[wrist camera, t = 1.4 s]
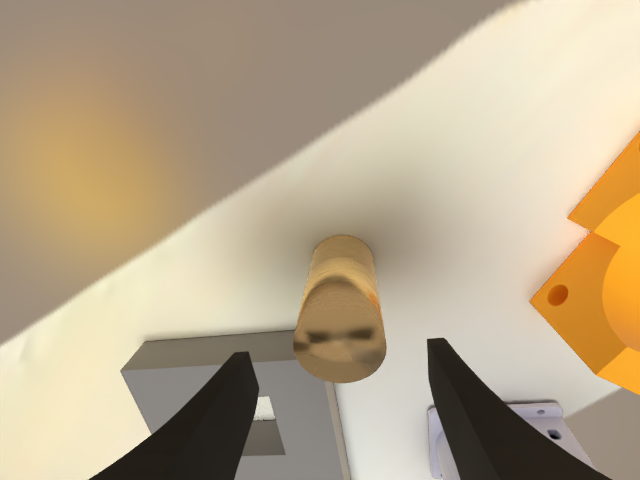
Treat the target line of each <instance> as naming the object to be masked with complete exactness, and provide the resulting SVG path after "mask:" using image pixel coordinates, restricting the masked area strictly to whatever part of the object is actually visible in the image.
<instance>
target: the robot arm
mask: <svg viewBox="0 0 640 480" xmlns="http://www.w3.org/2000/svg"><path fill="white" fill-rule="evenodd" d="M427 348H428V375H429V383H430V387H431V391H432V396H433V400H434V404H435V408H431V409H430V410H429V411H428V422H429V446H430V471H431V475H432V477H433V478H436V479H443V480H612V479H610V478H608V477H606V476H605V475H603V474H601V473H600V472H598V471H597V469H596V467H595V466H594V464H593V463H592V462H591V460H590V459H589V457H588V456H587V454H586V453H585V451H584V450H583V448H582V447H581V445H580V444H579V442H578V441H577V439H576V438H575V437H574V435H573V433H572V432H571V430H570V429H569V427H568V426H567V424H566V423H565V421H564V420H563V418H562V408H561V406H560V405H559V404H558V403H532V404H508V405H506V404H505V403H504V402H503V401H502V400H501V399H500V398H499V397H498V396H497V395H496V394H495V393H494V392H493V391H491V390H490V389H489V388H488V387H487V386H486V385H485V384H484V383H483V382H482V381H481V379H480V378H479V377H478V376H477V375H476V374H475V373H474V372H473V371H472V370H471V369H470V368H469V367H468V366H467V364H466V363H465V362H464V361H463V360H462V359H461V358H460V356H459V355H458V354H457V353H456V352H455V350H454V349H453V348H452V347H451V345H450V344H449V343H448V341H447V340H446V339H444V338H433V339H427ZM258 394H259V385H258V381H257V378H256V375H255V371H254V368H253V365H252V361H251V358H250V355H249V351H245V352H234V353H233V354H232V355H231V357H230V358H229V359H228V360H227V361H226V362H225V363H224V364H223V365H222V366H221V368H220V369H219V370H218V371H217V372H216V373H215V374H214V375H213V376H212V377H211V379H210V380H209V381H208V382H207V383H206V384H205V385H204V386H203V387H202V388H201V389H200V390H199V391H198V392H197V393H196V394H195V395H194V396H193V397H192V398H191V399H190V400H189V401H188V402H187V403H186V404H185V405H184V406H183V407H182V408H181V409H180V410H179V411H178V412H177V413H176V414H175V415H174V416H173V417H172V418H171V419H170V420H168V421H167V422H166V423H165V424H164V425H163V426H161V427H160V428H159V429H158V430H157V431H156V432H154V433H153V434H152V435H151V436H149V437H148V438H147V439H146V440H144V441H143V442H142V443H140V444H139V445H138V446H136V447H135V448H134V449H133V450H131V451H130V452H129V453H127V454H126V455H125V456H123V457H122V458H120V459H119V460H117V461H116V462H115V463H113V464H112V465H110V466H109V467H107V468H106V469H104V470H103V471H101V472H100V473H98V474H97V475H95V476H93V477H92V478H90V479H89V480H234V479H235V475H236V472H237V468H238V465H239V462H240V459H241V456H242V453H243V450H244V446H245V443H246V440H247V437H248V434H249V431H250V427H251V424H252V421H253V418H254V414H255V410H256V405H257V400H258Z"/></svg>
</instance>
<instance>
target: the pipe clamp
mask: <svg viewBox="0 0 640 480" xmlns="http://www.w3.org/2000/svg"><path fill="white" fill-rule="evenodd" d="M568 219H569V220H571V221H573V222H575V223H577V224H579V225H581V226H583V227H584V228H586V229H588V230H590V231H591V232H590V233H589V234H588V236H587V237H586V238H585V239H584V240H583V241H582V242H581V243H580V245H579V246H578V247H577V248H576V249H575V250H574V251H573V253H572V254H571V255H570V256H569V257H568V258H567V259H566V260H565V262H564V263H563V264H562V265H561V266H560V267H559V268H558V269H557V271H556V272H555V273H554V274H553V275H552V276H551V277H550V278H549V280H548V281H547V282H546V283H545V284H544V285H543V286H542V288H541V289H540V290H539V291H538V292H537V293H536V294H535V295H534V297H533V298H532V299H531V300H530V301H529V302H530V303H531V304H532V305H533V306H534V307H535V308H536V309H537V311H538V312H539V313H540V314H541V315H542V316H543V317H544V318H545V319H546V321H547V322H548V323H549V324H550V325H551V326H552V327H553V328H554V329H555V330H556V332H557V333H558V334H559V335H560V336H561V337H562V338H563V339H564V340H565V342H566V343H567V344H568V345H569V346H570V347H571V348H572V349H573V350H574V351H575V353H576V354H577V355H578V356H579V357H580V358H581V359H582V360H583V361H584V363H585V364H586V365H587V366H588V367H589V368H590V369H591V370H592V371H593V372H594V374H595V375H597V376H599V377H601V378H603V379H606V380H608V381H610V382H612V383H614V384H616V385H619V386H621V387H623V388H625V389H628V390H630V391H632V392H634V393H636V394H638V395H640V131H639V133H638V134H637V135H636V136H635V137H634V139H633V140H632V141H631V142H630V143H629V145H628V146H627V147H626V148H625V149H624V151H623V152H622V153H621V154H620V155H619V157H618V158H617V159H616V160H615V161H614V163H613V164H612V165H611V166H610V167H609V169H608V170H607V171H606V172H605V173H604V175H603V176H602V177H601V178H600V179H599V180H598V182H597V183H596V184H595V185H594V186H593V188H592V189H591V190H590V191H589V192H588V194H587V195H586V196H585V197H584V198H583V200H582V201H581V202H580V203H579V204H578V206H577V207H576V208H575V209H574V210H573V212H572V213H571V214H570V215H569V216H568Z"/></svg>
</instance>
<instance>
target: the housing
mask: <svg viewBox="0 0 640 480" xmlns="http://www.w3.org/2000/svg"><path fill="white" fill-rule="evenodd" d="M294 334H295V330H294V331H281V332H268V333H254V334H241V335H228V336H215V337H201V338H188V339H175V340H162V341H148V342H144V343H143V345H142V346H141V347H140V348H139V349H138V351H137V352H136V353H135V354H134V355H133V356H132V358H131V359H130V360H129V361H128V362H127V364H126V365H125V366H124V367H123V368H122V369H121V371H120V372H121V374H122V376H123V378H124V380H125V382H126V384H127V386H128V388H129V390H130V392H131V394H132V396H133V398H134V400H135V402H136V404H137V406H138V408H139V410H140V412H141V414H142V416H143V418H144V420H145V422H146V424H147V426H148V428H149V430H150V432H151V434H153V433H154V432H156V431H157V430H158V429H159V428H160V427H161V426H163V425H164V424H165V423H166V422H167V421H168V420H170V419H171V418H172V417H173V416H174V415H175V414H176V413H177V412H178V411H179V410H180V409H181V408H182V407H183V406H184V405H185V404H186V403H187V402H188V401H189V400H190V399H191V398H192V397H193V396H194V395H195V394H196V393H197V392H198V391H199V390H200V389H201V388H202V387H203V386H204V385H205V384H206V383H207V382H208V381H209V380H210V379H211V377H212V376H213V375H214V374H215V373H216V372H217V371H218V370H219V369H220V368H221V366H222V365H223V364H224V363H225V362H226V361H227V360H228V359H229V358H230V357H231V355H232V354H233V353H234V352H245V351H249V355H250V358H251V361H252V365H253V368H254V371H255V375H256V378H257V381H258V385H259V394H258V397H265V396H269V397H270V401H271V404H272V408H273V411H274V415H275V418H276V420H268V421H252V424H251V427H250V431H249V434H248V437H247V440H246V443H245V446H244V450H243V453H242V456H241V459H240V462H239V465H238V468H237V472H236V475H235V479H234V480H351V477H350V471H349V466H348V460H347V455H346V449H345V444H344V438H343V433H342V427H341V422H340V416H339V411H338V405H337V400H336V394H335V389H334V383H333V382H328V381H325V380H322V379H319V378H317V377H315V376H313V375H312V374H310V373H309V372H307V371H306V370H305V369H304V368H303V367H302V366H301V365H300V363H299V362H298V360H297V358H296V356H295V353H294V349H293V339H294Z"/></svg>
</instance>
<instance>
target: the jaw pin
mask: <svg viewBox="0 0 640 480" xmlns="http://www.w3.org/2000/svg"><path fill="white" fill-rule="evenodd" d="M293 349H294V353H295V356H296V358H297V360H298V362H299V363H300V365H301V366H302V367H303V368H304V369H305V370H306V371H307V372H309V373H310V374H312V375H313V376H315V377H317V378H319V379H322V380H325V381H328V382H334V383H350V382H355V381H359V380H362V379H364V378H366V377H368V376H370V375H371V374H373V373H374V372H375V371H376V370H377V369H378V368H379V367H380V365H381V364H382V362H383V360H384V358H385V355H386V339H385V333H384V327H383V320H382V314H381V307H380V301H379V294H378V288H377V282H376V275H375V269H374V262H373V256H372V254H371V251H370V250H369V248H368V247H367V246H366V244H365V243H363V242H362V241H361V240H359V239H357V238H355V237H352V236H348V235H336V236H332V237H329V238H327V239H325V240H324V241H322V242H321V243H320V244H319V245H318V246H317V248H316V249H315V251H314V253H313V257H312V261H311V265H310V270H309V274H308V278H307V282H306V287H305V291H304V295H303V300H302V304H301V308H300V313H299V317H298V321H297V326H296V330H295V334H294V339H293Z"/></svg>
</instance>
